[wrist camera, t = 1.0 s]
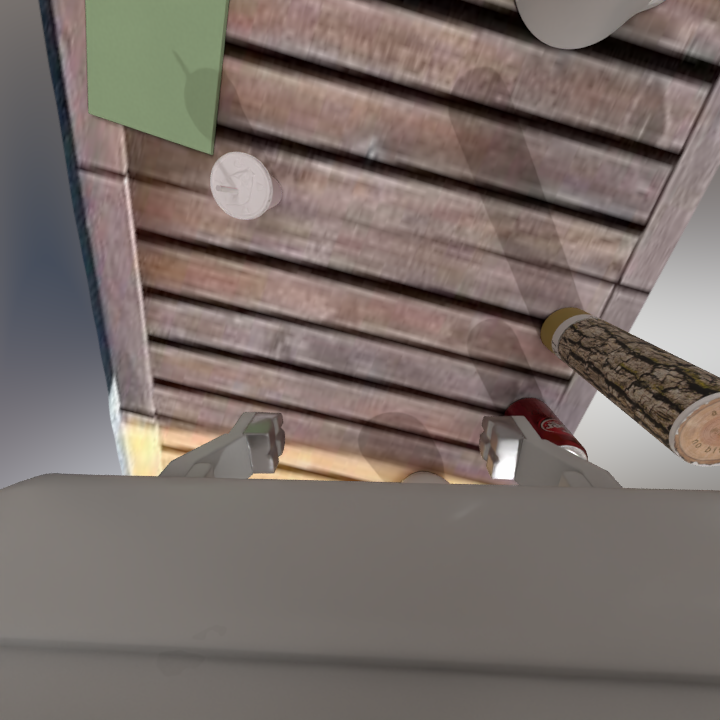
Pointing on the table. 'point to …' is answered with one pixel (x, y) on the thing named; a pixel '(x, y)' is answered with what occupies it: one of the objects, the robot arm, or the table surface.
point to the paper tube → (642, 382)
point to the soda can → (546, 424)
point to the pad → (157, 66)
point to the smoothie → (243, 186)
